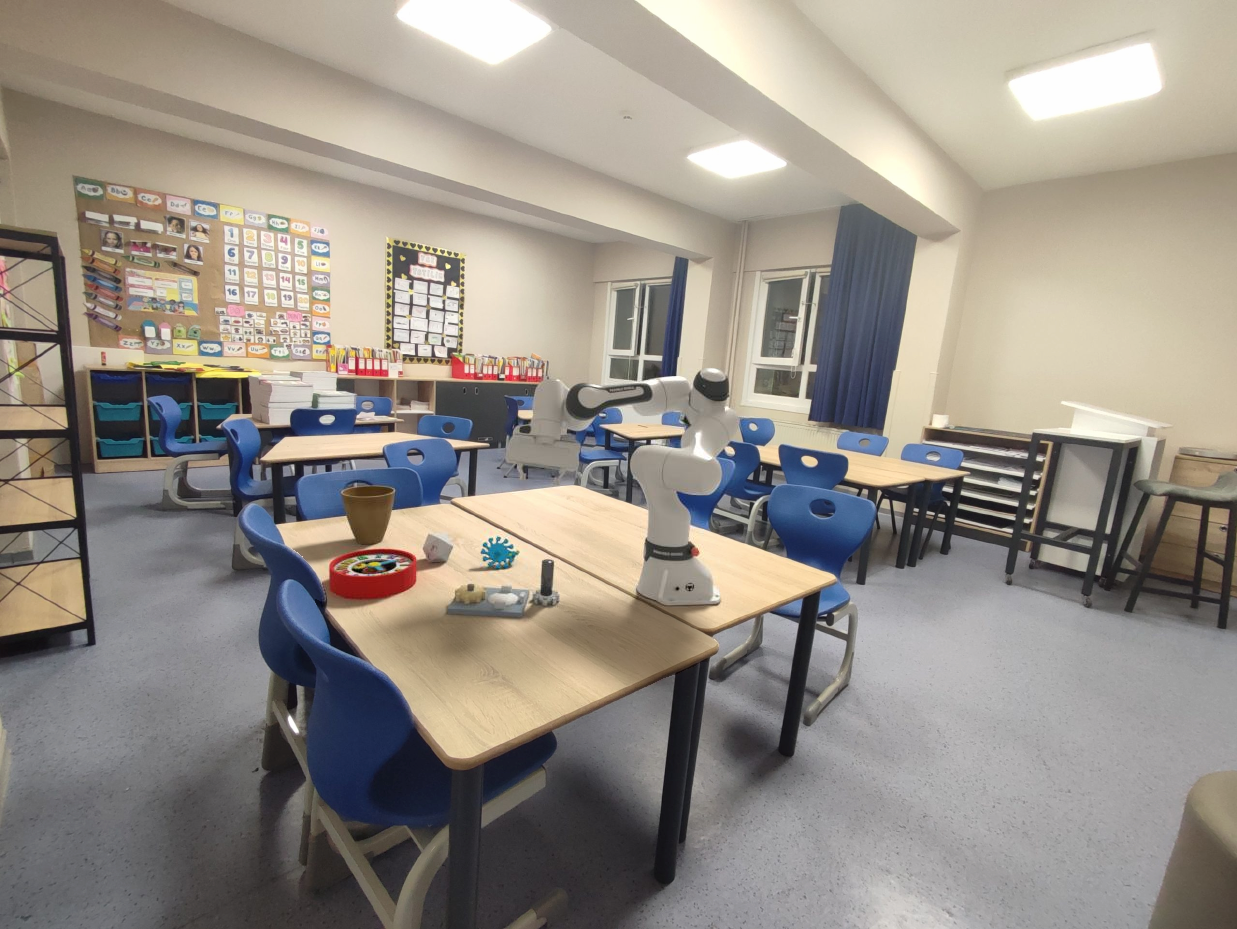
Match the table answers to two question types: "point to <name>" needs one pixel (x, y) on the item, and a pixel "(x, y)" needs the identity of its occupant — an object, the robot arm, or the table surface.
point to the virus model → (498, 552)
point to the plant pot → (368, 511)
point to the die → (437, 547)
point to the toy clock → (372, 573)
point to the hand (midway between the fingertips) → (539, 482)
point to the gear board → (489, 601)
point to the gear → (546, 586)
